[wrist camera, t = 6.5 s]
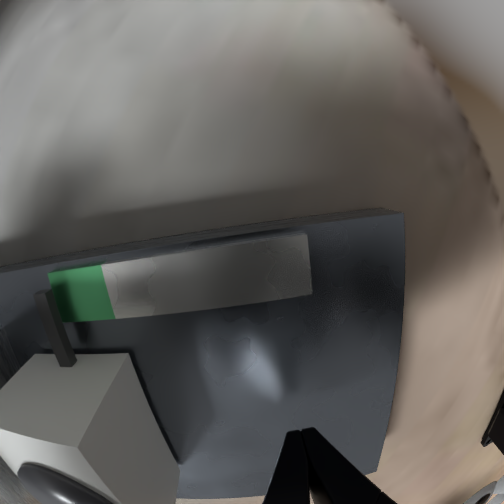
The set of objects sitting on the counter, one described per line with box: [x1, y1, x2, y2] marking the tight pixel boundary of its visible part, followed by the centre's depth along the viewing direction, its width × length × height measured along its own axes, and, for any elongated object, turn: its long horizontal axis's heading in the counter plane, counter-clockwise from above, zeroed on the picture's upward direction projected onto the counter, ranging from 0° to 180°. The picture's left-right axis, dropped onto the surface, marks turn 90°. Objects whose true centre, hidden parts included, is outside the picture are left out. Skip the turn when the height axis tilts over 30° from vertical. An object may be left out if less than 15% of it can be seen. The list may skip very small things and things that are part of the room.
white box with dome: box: [0, 289, 180, 504], centre depth 7 cm, size 6×8×4 cm, turn 8°
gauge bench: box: [0, 208, 405, 504], centre depth 7 cm, size 18×12×8 cm
